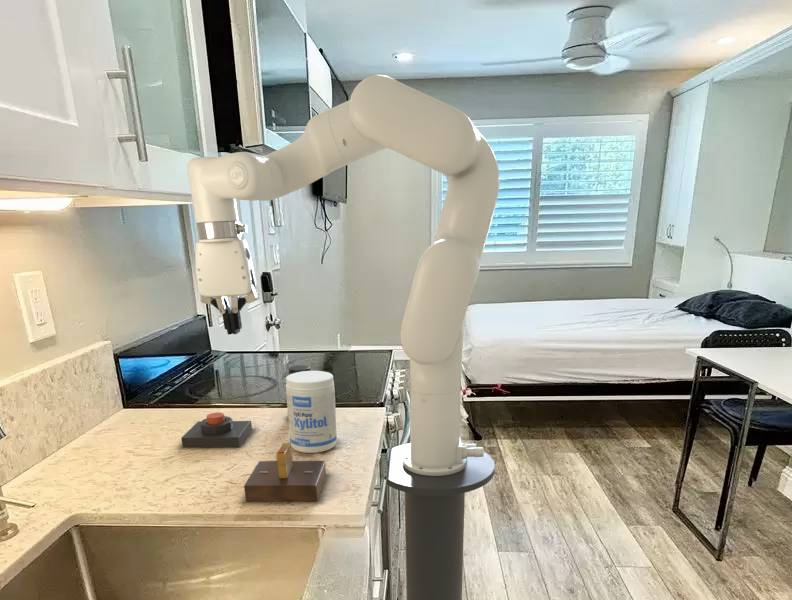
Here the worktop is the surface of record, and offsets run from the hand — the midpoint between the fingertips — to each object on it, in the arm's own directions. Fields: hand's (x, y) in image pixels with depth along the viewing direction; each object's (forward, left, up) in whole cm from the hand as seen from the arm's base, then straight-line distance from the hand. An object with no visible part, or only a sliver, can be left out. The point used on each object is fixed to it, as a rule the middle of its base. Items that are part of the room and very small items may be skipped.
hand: (234, 332), depth 111 cm
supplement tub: (-14, +2, -23) cm, 27 cm away
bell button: (+7, -3, -20) cm, 21 cm away
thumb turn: (-13, +21, -20) cm, 32 cm away
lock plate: (-13, +21, -23) cm, 34 cm away
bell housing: (+7, -3, -23) cm, 24 cm away
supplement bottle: (-9, -16, -23) cm, 29 cm away
